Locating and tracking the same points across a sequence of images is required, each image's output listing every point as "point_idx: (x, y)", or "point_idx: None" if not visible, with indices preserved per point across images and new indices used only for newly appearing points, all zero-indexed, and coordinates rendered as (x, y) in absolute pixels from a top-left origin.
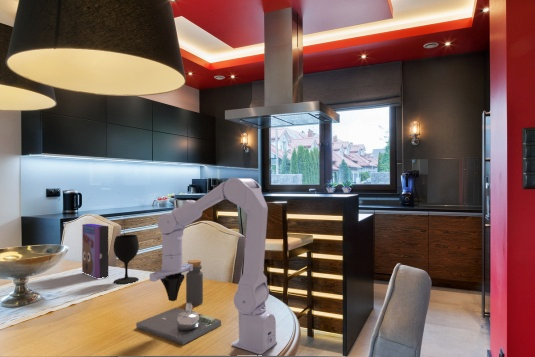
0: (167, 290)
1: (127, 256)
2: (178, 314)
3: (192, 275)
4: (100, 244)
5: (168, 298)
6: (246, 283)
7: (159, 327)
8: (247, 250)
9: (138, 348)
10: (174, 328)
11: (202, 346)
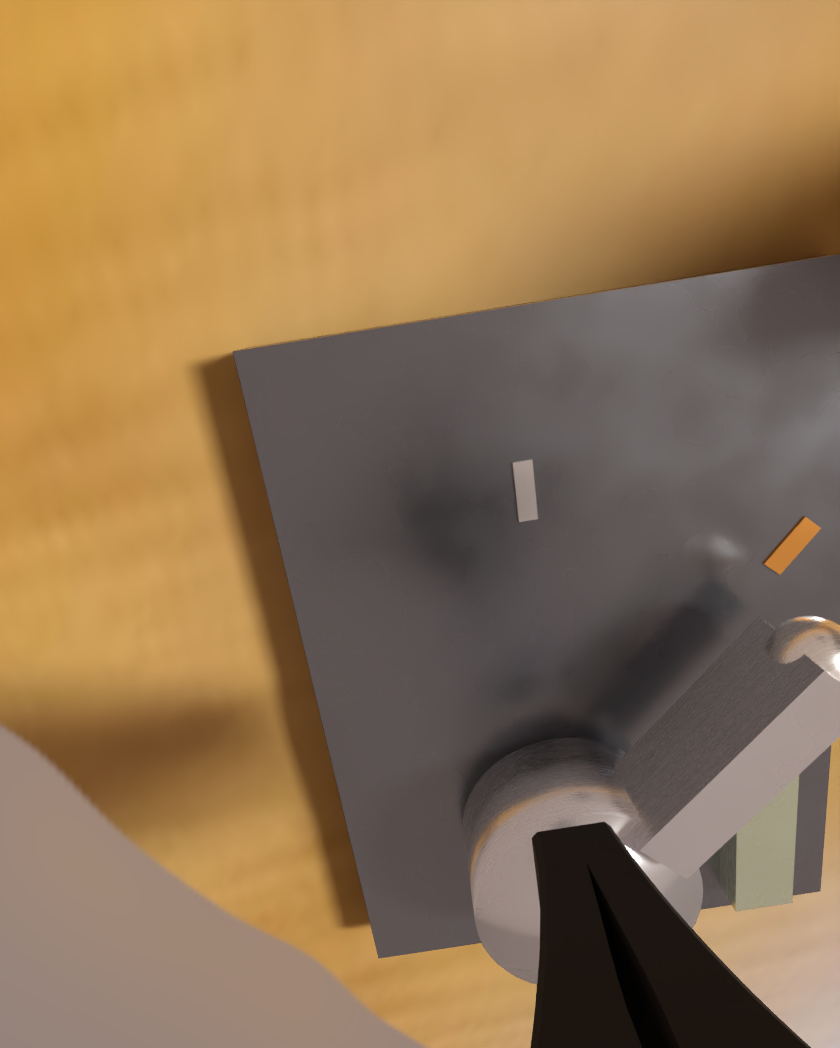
0: (555, 1005)
1: None
2: (532, 836)
3: None
4: None
5: (536, 858)
6: None
7: (364, 656)
8: None
9: (104, 755)
10: (450, 768)
11: (460, 998)
